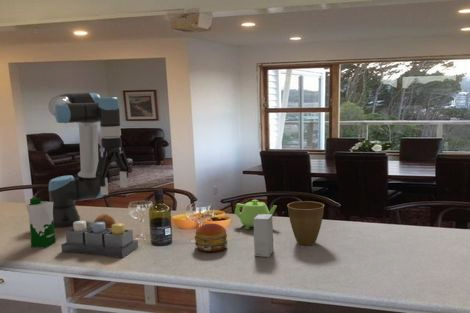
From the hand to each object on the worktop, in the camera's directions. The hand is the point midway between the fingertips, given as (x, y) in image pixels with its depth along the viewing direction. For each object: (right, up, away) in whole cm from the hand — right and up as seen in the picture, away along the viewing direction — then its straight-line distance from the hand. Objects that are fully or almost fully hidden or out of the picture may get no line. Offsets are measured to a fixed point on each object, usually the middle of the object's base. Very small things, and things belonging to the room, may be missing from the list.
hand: (114, 190), depth 174 cm
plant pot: (+77, -22, +8) cm, 80 cm away
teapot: (+57, -19, +33) cm, 69 cm away
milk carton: (-34, -24, +14) cm, 44 cm away
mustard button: (+1, -19, +3) cm, 19 cm away
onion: (-11, -22, +25) cm, 35 cm away
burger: (+38, -24, +5) cm, 45 cm away
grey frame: (-8, -25, +6) cm, 26 cm away
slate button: (-8, -19, +5) cm, 21 cm away
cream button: (-16, -18, +8) cm, 26 cm away
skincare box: (+59, -24, -3) cm, 64 cm away
